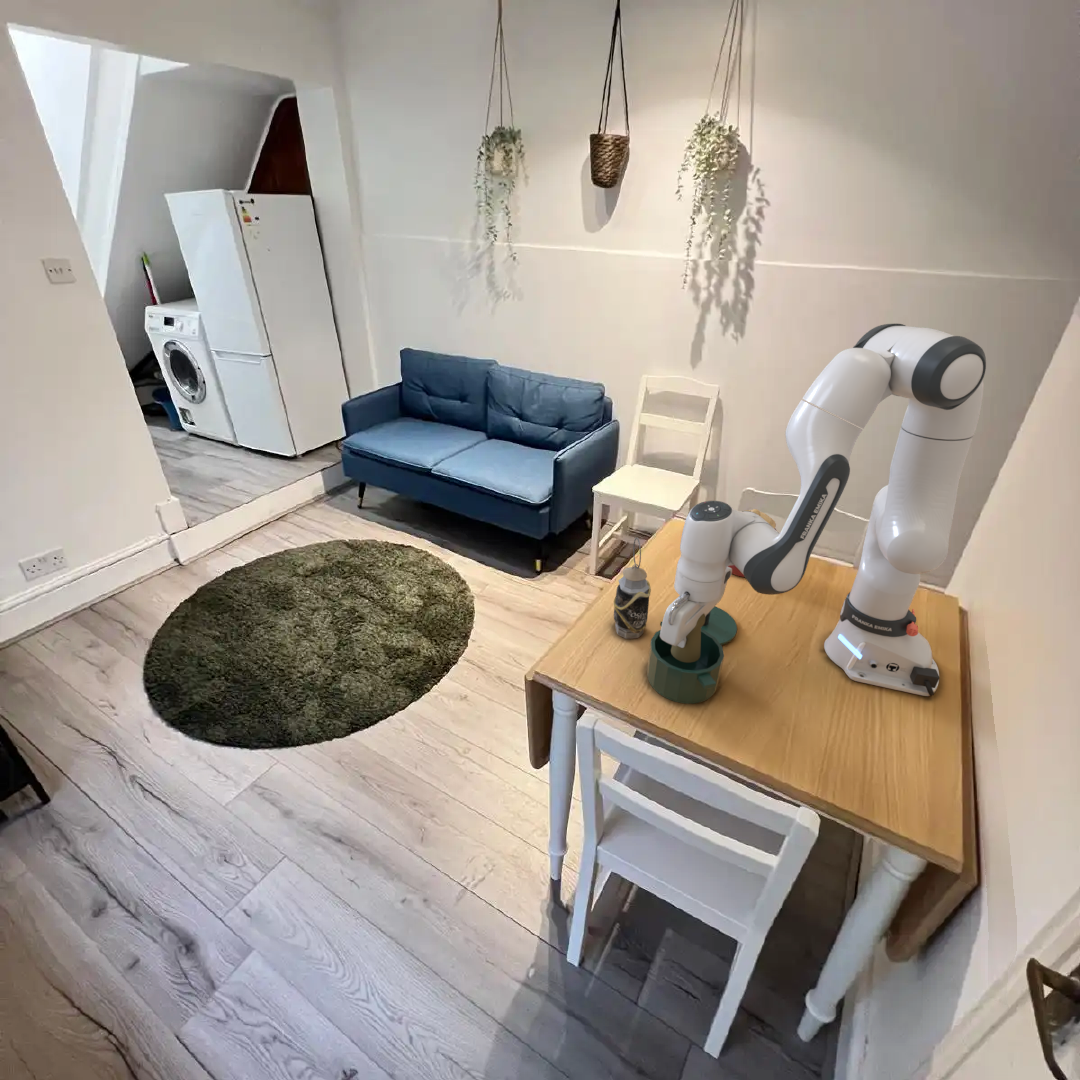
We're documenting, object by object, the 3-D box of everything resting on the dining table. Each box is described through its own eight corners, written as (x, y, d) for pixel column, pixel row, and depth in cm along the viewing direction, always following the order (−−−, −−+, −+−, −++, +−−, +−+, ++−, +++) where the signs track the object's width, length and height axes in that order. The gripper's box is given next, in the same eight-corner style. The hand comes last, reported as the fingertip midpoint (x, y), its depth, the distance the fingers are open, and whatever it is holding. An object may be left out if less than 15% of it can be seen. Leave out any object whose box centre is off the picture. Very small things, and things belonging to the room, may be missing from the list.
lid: (715, 602, 146) (718, 587, 143) (749, 641, 133) (752, 626, 130) (658, 611, 143) (660, 596, 140) (687, 653, 130) (690, 637, 127)
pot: (690, 642, 133) (695, 612, 128) (737, 705, 116) (745, 674, 112) (631, 653, 130) (635, 623, 125) (671, 720, 113) (676, 688, 109)
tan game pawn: (701, 664, 116) (709, 622, 111) (670, 660, 117) (677, 618, 112) (699, 644, 121) (707, 603, 116) (670, 641, 122) (677, 599, 117)
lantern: (649, 641, 133) (661, 549, 120) (614, 642, 133) (622, 550, 120) (641, 617, 140) (651, 529, 128) (608, 619, 140) (615, 530, 127)
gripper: (687, 614, 101) (677, 672, 109) (736, 565, 115) (724, 620, 122) (656, 600, 105) (648, 657, 112) (707, 554, 118) (697, 608, 126)
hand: (688, 637), depth 117 cm, fingers closed on tan game pawn, 4 cm apart
